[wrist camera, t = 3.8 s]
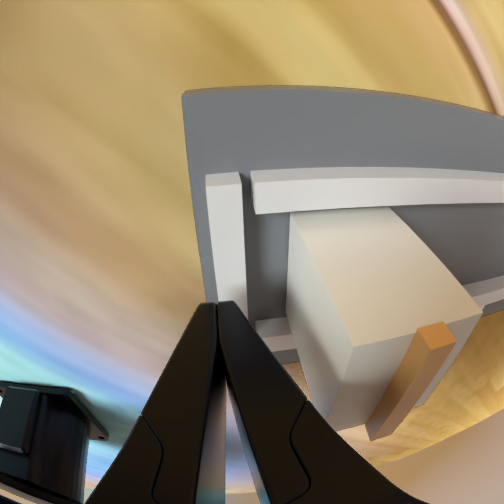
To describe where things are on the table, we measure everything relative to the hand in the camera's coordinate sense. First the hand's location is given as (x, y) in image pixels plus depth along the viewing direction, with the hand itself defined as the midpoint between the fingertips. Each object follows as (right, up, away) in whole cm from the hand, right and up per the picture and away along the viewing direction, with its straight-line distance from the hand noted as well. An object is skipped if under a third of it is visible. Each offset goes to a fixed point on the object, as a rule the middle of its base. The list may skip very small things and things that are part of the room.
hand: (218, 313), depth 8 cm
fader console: (+9, +3, +4) cm, 10 cm away
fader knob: (+3, +1, +2) cm, 4 cm away
